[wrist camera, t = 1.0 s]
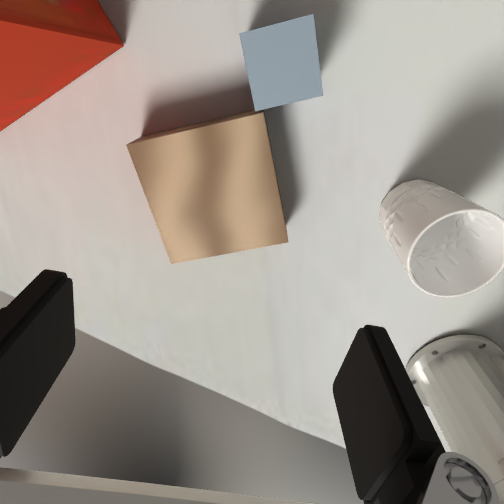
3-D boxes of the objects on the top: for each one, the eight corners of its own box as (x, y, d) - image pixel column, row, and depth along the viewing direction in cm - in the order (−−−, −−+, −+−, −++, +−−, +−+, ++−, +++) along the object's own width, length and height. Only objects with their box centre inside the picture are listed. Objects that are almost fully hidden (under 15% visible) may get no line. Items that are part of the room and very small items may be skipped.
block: (302, 25, 29) (313, 13, 23) (311, 90, 31) (323, 95, 25) (244, 41, 30) (239, 33, 23) (256, 103, 32) (255, 111, 26)
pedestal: (263, 108, 32) (263, 112, 28) (285, 225, 37) (288, 242, 34) (140, 137, 33) (126, 144, 30) (179, 246, 39) (171, 263, 35)
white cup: (457, 226, 37) (519, 276, 28) (384, 255, 39) (421, 310, 30) (441, 159, 34) (504, 191, 25) (362, 193, 35) (395, 235, 27)
